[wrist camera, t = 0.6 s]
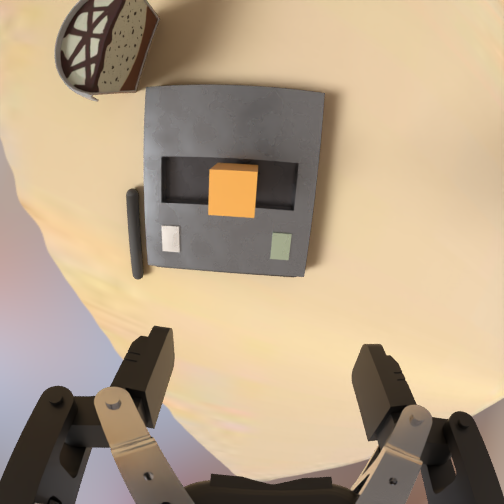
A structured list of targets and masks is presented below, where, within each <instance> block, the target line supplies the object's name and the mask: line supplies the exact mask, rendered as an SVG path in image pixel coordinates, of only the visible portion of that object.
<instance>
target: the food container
mask: <svg viewBox="0 0 504 504" xmlns="http://www.w3.org/2000/svg"><path fill="white" fill-rule="evenodd" d="M159 20H160V18H159V17H158V15H157V14H156V12H155V11H154V10H153V8H152V7H151V6H150V4H149V3H148V1H147V0H80V1H79V2H78V3H77V4H76V5H75V6H74V7H73V8H72V10H71V11H70V12H69V14H68V15H67V17H66V18H65V20H64V22H63V24H62V25H61V28H60V30H59V33H58V36H57V40H56V44H55V63H56V68H57V71H58V73H59V75H60V77H61V79H62V80H63V81H64V83H65V84H66V85H67V86H68V87H69V88H70V89H71V90H72V91H74V92H75V93H77V94H79V95H81V96H83V97H85V98H87V99H90V100H93V101H98V99H96V98H94V97H92V96H93V95H99V94H114V93H135V92H136V90H137V86H138V83H139V79H140V76H141V73H142V69H143V66H144V63H145V60H146V56H147V53H148V50H149V47H150V44H151V42H152V39H153V36H154V33H155V30H156V28H157V25H158V22H159Z"/></svg>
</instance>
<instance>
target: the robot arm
mask: <svg viewBox="0 0 504 504" xmlns="http://www.w3.org/2000/svg"><path fill="white" fill-rule="evenodd" d="M174 359H175V355H174V342H173V331H172V328H166V327H160V326H154V327H153V328H152V330H151V332H150V334H149V337H146V336H140V337H139V338H137V339H136V340H135V341H134V342H132V344H131V346H130V348H129V350H128V353H127V354H126V356H125V358H124V360H123V362H122V364H121V366H120V368H119V370H118V372H117V374H116V376H115V378H114V380H113V382H112V384H111V386H110V387H107V388H104V389H102V390H101V391H99V392H98V393H97V395H96V396H89V397H87V396H86V397H84V396H82V397H81V396H73V394H72V393H71V391H70V390H69V389H67V388H65V387H63V386H54V387H50V388H48V389H47V390H45V391H44V392H43V394H42V395H41V397H40V399H39V401H38V402H37V404H36V406H35V408H34V410H33V412H32V414H31V416H30V418H29V420H28V421H27V424H26V426H25V428H24V429H23V431H22V434H21V436H20V438H19V440H18V442H17V444H16V446H15V448H14V451H13V453H12V455H11V457H10V459H9V462H8V464H7V466H6V469H5V471H4V473H3V476H2V478H1V480H0V504H75V501H76V498H77V494H78V491H79V488H80V484H81V481H82V477H83V474H84V471H85V468H86V465H87V462H88V459H89V456H90V452H91V449H92V447H102V448H103V447H104V448H105V447H106V448H109V447H110V448H111V453H112V455H113V457H114V460H115V462H116V464H117V466H118V469H119V471H120V473H121V475H122V477H123V479H124V481H125V484H126V486H127V488H128V490H129V492H130V494H131V495H132V497H133V499H134V501H135V503H136V504H405V503H406V501H407V499H408V496H409V494H410V492H411V490H412V488H413V485H414V483H415V481H416V478H417V476H418V474H419V471H420V469H421V473H422V478H423V481H424V486H425V490H426V495H427V499H428V504H504V496H503V493H502V490H501V487H500V484H499V481H498V478H497V476H496V473H495V470H494V467H493V464H492V462H491V459H490V456H489V454H488V451H487V449H486V446H485V444H484V441H483V439H482V437H481V435H480V432H479V430H478V427H477V425H476V423H475V421H474V419H473V418H472V417H471V416H470V415H469V414H467V413H465V412H461V411H458V412H455V413H453V414H452V415H451V416H450V418H449V419H441V418H434V417H432V416H431V414H430V412H429V411H428V410H427V409H425V408H424V407H422V406H419V405H417V404H416V402H415V400H414V397H413V395H412V393H411V390H410V388H409V386H408V384H407V382H406V381H405V377H404V375H403V374H402V371H401V368H400V366H399V364H398V363H397V362H396V361H395V360H394V359H393V358H392V357H391V356H390V355H388V356H386V353H385V351H384V349H383V347H382V345H381V344H364V345H363V346H362V348H361V350H360V353H359V356H358V358H357V361H356V363H355V366H354V368H353V371H352V384H353V387H354V391H355V394H356V398H357V401H358V405H359V409H360V412H361V416H362V420H363V424H364V428H365V431H366V435H367V439H368V441H375V440H378V444H379V445H378V446H377V448H376V449H375V451H374V453H373V455H372V456H371V458H370V460H369V462H368V463H367V465H366V467H365V468H364V470H363V472H362V473H361V475H360V476H359V478H358V480H357V481H356V482H355V484H354V485H353V486H352V487H351V489H348V488H345V487H343V486H339V485H336V484H332V479H331V477H323V478H322V477H320V478H302V479H298V480H293V481H289V482H284V483H280V484H274V485H273V484H266V483H263V482H259V481H255V480H252V479H248V478H244V477H240V476H228V475H218V474H211V480H208V481H202V482H196V483H193V484H190V485H188V486H185V487H183V485H182V484H181V483H180V481H179V480H178V478H177V476H176V475H175V473H174V471H173V470H172V468H171V467H170V465H169V463H168V462H167V460H166V458H165V457H164V455H163V453H162V451H161V450H160V448H159V446H158V444H157V443H156V441H155V439H154V438H153V437H151V436H150V434H149V432H148V430H147V429H146V427H148V428H153V429H154V428H155V424H156V421H157V418H158V414H159V412H160V408H161V405H162V402H163V399H164V396H165V392H166V389H167V386H168V383H169V380H170V377H171V374H172V371H173V367H174ZM451 457H452V459H453V462H454V465H455V468H456V474H455V471H454V468H453V465H452V462H451Z"/></svg>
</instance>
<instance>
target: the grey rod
mask: <svg viewBox="0 0 504 504" xmlns="http://www.w3.org/2000/svg"><path fill="white" fill-rule="evenodd" d="M126 199H127V217H128V231H129V244H130V254H131V264H132V273H133V277H134V278H135V279H141V278H142V277H143V264H142V252H141V239H140V223H139V202H138V192H137V190H136V189H129V190H128V191H127V194H126Z"/></svg>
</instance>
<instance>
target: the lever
mask: <svg viewBox="0 0 504 504" xmlns="http://www.w3.org/2000/svg"><path fill="white" fill-rule="evenodd" d="M257 176H258V165H250V164H233V163H217V164H216V165H214V166H213V167H212V168H211V169H210V171H209V204H208V215H217V216H233V217H247V218H254V216H255V205H256V191H257Z"/></svg>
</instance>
